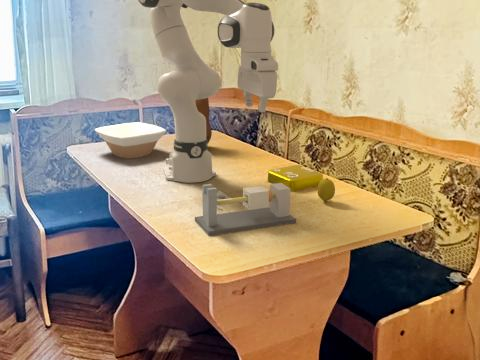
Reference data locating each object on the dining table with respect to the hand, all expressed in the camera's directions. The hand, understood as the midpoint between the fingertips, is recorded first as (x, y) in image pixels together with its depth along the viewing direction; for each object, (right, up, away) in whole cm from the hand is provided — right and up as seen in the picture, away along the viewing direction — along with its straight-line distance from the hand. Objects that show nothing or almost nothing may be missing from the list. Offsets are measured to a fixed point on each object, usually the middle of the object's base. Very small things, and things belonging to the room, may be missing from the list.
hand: (255, 109), depth 173 cm
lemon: (+23, -28, +15) cm, 40 cm away
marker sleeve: (0, -29, -2) cm, 29 cm away
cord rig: (-3, -33, -2) cm, 33 cm away
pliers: (-9, -28, +16) cm, 34 cm away
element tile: (+15, -23, +35) cm, 44 cm away
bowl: (-50, -10, +71) cm, 88 cm away
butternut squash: (-23, -8, +80) cm, 83 cm away
